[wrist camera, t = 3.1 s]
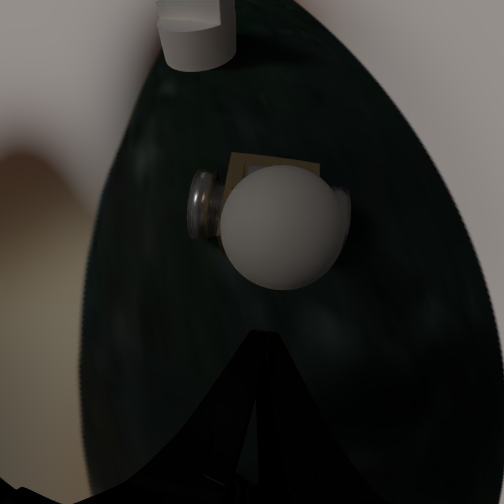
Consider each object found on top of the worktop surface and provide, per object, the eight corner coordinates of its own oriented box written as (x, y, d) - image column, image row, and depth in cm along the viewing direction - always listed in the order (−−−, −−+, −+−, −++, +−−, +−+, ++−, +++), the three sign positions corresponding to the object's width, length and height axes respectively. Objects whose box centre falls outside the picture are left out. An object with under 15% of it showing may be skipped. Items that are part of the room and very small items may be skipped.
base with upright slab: (151, 65, 28) (130, -11, 16) (192, 32, 30) (183, -36, 18) (211, 78, 27) (202, -13, 15) (248, 43, 29) (250, -33, 17)
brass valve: (328, 269, 21) (366, 240, 14) (194, 252, 22) (170, 215, 14) (331, 199, 23) (361, 149, 16) (208, 184, 23) (194, 127, 16)
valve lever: (294, 209, 17) (342, 320, 6) (246, 203, 18) (205, 304, 6) (301, 162, 16) (374, 183, 5) (252, 155, 16) (216, 159, 5)
